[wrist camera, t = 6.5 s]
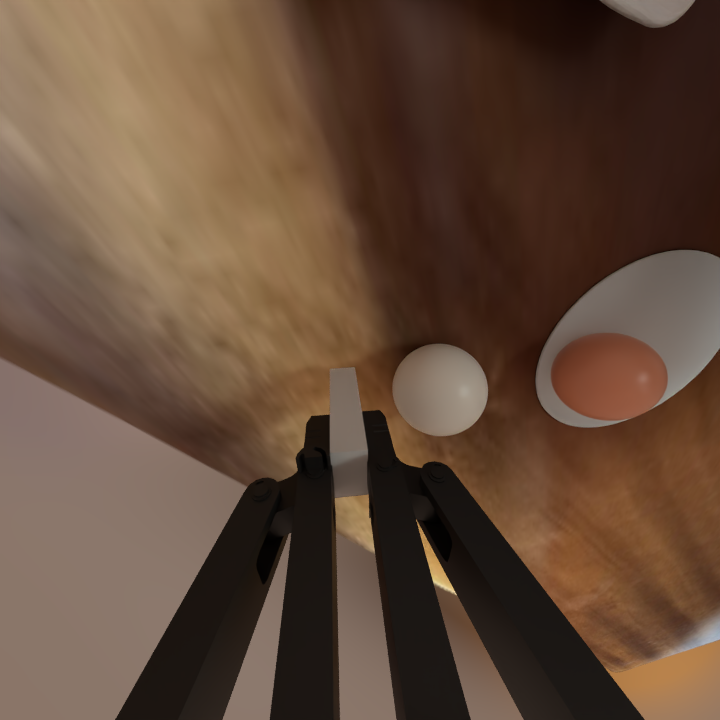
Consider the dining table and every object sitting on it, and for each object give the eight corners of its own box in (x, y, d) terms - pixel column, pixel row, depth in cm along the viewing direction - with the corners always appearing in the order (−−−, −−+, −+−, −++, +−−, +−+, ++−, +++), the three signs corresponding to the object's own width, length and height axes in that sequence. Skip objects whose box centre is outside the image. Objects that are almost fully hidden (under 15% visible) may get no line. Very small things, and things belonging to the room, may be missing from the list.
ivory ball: (384, 365, 14) (403, 325, 19) (381, 444, 17) (398, 393, 21) (504, 382, 13) (492, 334, 17) (480, 466, 15) (475, 406, 20)
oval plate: (782, 245, 18) (787, 246, 17) (669, 419, 24) (671, 420, 24) (573, 253, 17) (575, 254, 16) (515, 432, 23) (516, 434, 23)
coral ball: (545, 329, 17) (596, 314, 20) (523, 400, 20) (569, 380, 22) (659, 368, 13) (709, 344, 15) (611, 452, 16) (659, 422, 18)
